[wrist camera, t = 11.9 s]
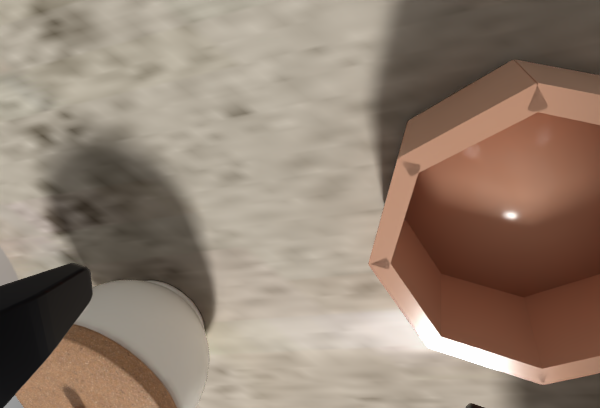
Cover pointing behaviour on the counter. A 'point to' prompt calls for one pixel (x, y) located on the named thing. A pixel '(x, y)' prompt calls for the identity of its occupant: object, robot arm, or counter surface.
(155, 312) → the lidded jar
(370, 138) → the counter surface
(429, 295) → the bowl
